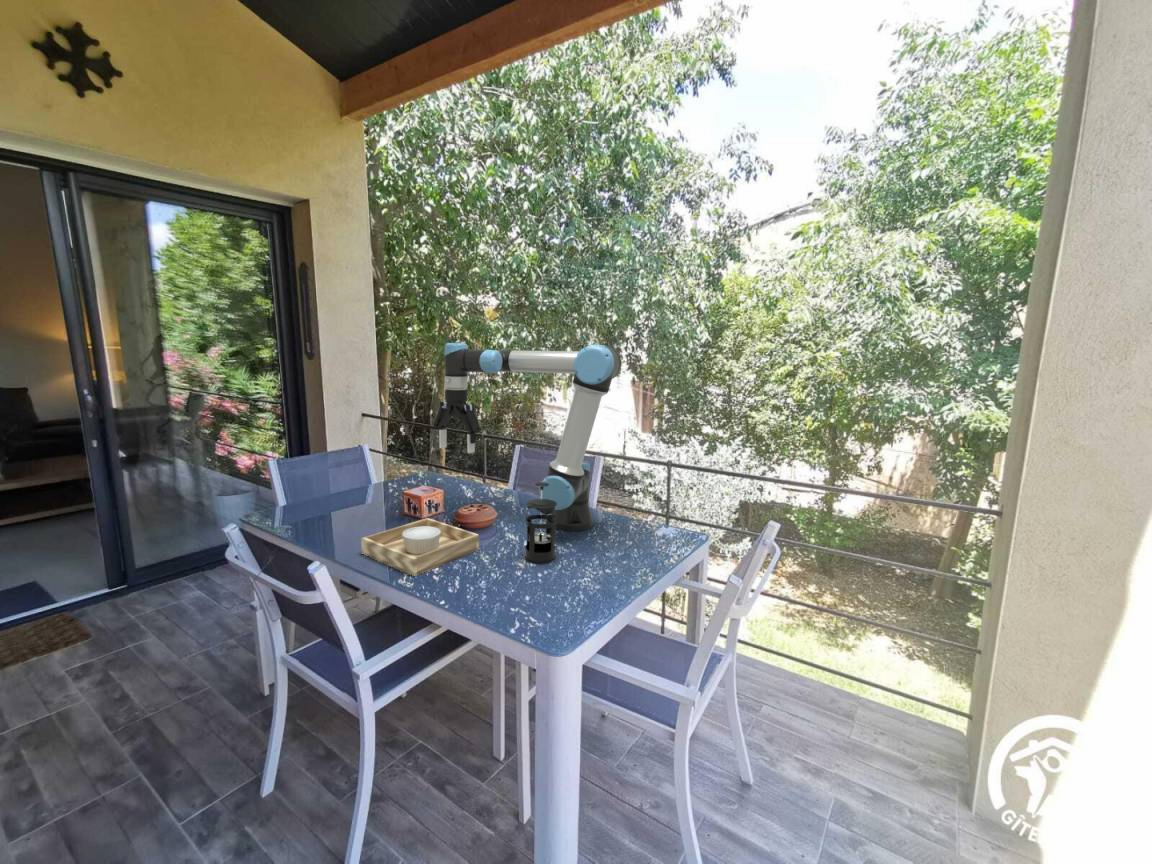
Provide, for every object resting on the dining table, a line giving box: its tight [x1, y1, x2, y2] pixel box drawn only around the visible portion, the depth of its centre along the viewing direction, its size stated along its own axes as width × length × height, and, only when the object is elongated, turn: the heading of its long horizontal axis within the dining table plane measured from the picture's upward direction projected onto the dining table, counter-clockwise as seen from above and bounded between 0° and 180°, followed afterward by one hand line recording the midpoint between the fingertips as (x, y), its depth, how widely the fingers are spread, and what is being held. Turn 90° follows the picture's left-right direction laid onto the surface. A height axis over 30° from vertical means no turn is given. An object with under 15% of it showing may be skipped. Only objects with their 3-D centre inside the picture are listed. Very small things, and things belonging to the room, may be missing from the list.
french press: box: [523, 481, 557, 565], centre depth 151 cm, size 12×9×23 cm
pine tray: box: [360, 517, 480, 577], centre depth 153 cm, size 24×24×5 cm
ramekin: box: [402, 526, 441, 554], centre depth 153 cm, size 11×11×5 cm
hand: (456, 450), depth 177 cm, fingers open, 13 cm apart
